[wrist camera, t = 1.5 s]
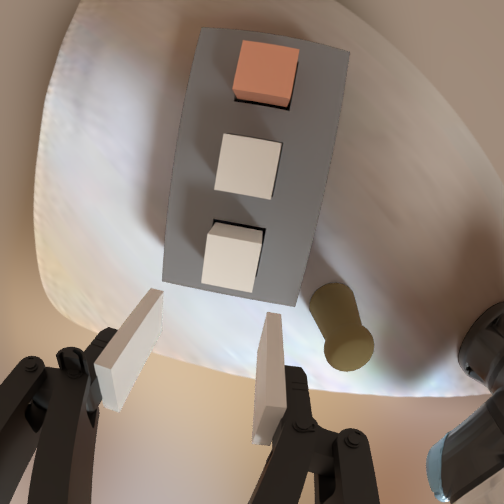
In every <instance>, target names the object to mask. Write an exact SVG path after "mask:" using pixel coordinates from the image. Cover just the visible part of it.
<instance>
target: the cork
mask: <svg viewBox="0 0 504 504" xmlns="http://www.w3.org/2000/svg"><path fill="white" fill-rule="evenodd" d="M310 311H311V314H312V316H313V318H314V320H315V322H316V324H317V326H318V327H319V329H320V331H321V333H322V335H323V337H324V339H325V344H324V354H325V357H326V359H327V362H328V363H329V364H330V365H331V366H332V367H333V368H335V369H337V370H340V371H346V372H348V371H354V370H356V369H359V368H361V367H362V366H364V365H365V364H366V363H367V362H368V361H369V360H370V358H371V356H372V354H373V351H374V341H373V337H372V335H371V333H370V332H369V331H368V330H367V328H365V327H364V326H362V324H361V320H360V316H359V312H358V308H357V304H356V301H355V297H354V294H353V292H352V290H351V289H350V288H349V287H348V286H346V285H344V284H341V283H329V284H326V285H324V286H322V287H320V288H319V289H318V290H316V291H315V293H314V294H313V296H312V297H311V300H310Z"/></svg>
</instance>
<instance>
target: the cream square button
mask: <svg viewBox="0 0 504 504" xmlns="http://www.w3.org/2000/svg"><path fill="white" fill-rule="evenodd" d="M262 233H263V231H260V230H255V229H249V228H244V227H239V226H233V225H228V224H222V223H217V222H216V223H215V224H214V226H213V227H212V228H211V230H210V231H209V232H208V234H207V241H206V249H205V256H204V264H203V272H202V280H201V283H204V284H209V285H214V286H219V287H224V288H229V289H235V290H240V291H245V292H251V293H252V290H253V285H254V280H255V275H256V270H257V265H258V261H259V256H260V251H261V246H262Z"/></svg>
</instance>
